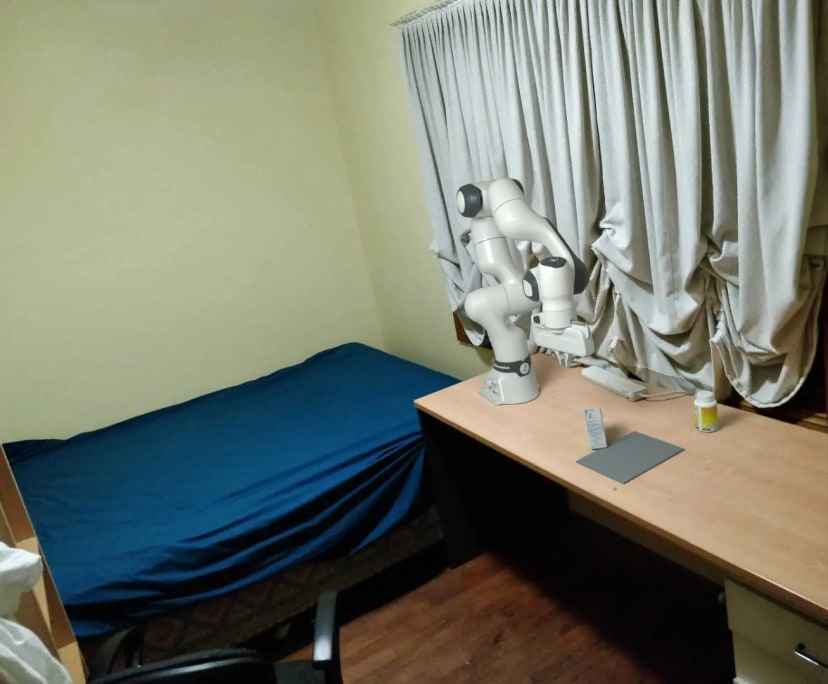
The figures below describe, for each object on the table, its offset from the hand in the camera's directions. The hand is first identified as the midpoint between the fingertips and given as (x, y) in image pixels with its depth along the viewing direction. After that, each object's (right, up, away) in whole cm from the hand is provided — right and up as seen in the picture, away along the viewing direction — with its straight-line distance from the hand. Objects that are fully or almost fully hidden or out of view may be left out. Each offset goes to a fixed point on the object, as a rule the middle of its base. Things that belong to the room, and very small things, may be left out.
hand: (565, 365), depth 174 cm
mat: (+14, -23, -11) cm, 29 cm away
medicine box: (+8, -21, -2) cm, 23 cm away
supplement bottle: (+37, -17, -5) cm, 41 cm away
